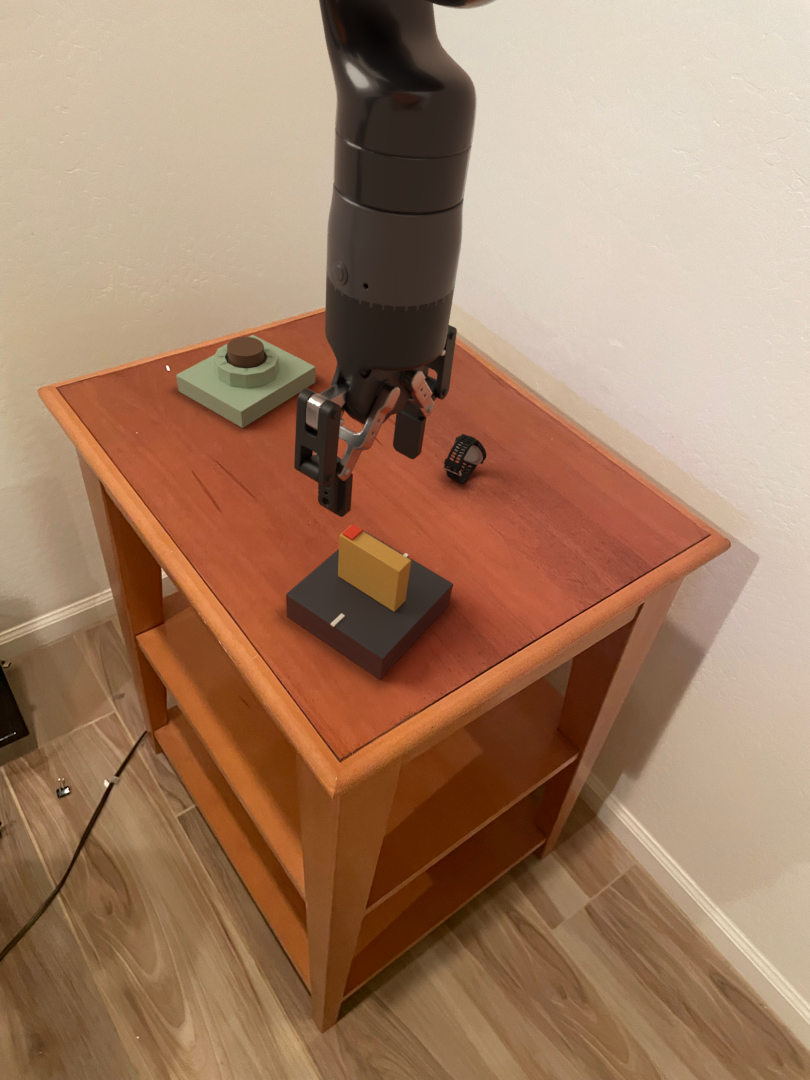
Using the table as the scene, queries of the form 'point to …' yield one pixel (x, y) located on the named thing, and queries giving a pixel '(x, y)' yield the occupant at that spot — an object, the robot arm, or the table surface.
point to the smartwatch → (464, 458)
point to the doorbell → (246, 383)
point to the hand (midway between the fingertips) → (372, 479)
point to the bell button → (245, 352)
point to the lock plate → (367, 614)
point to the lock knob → (373, 567)
